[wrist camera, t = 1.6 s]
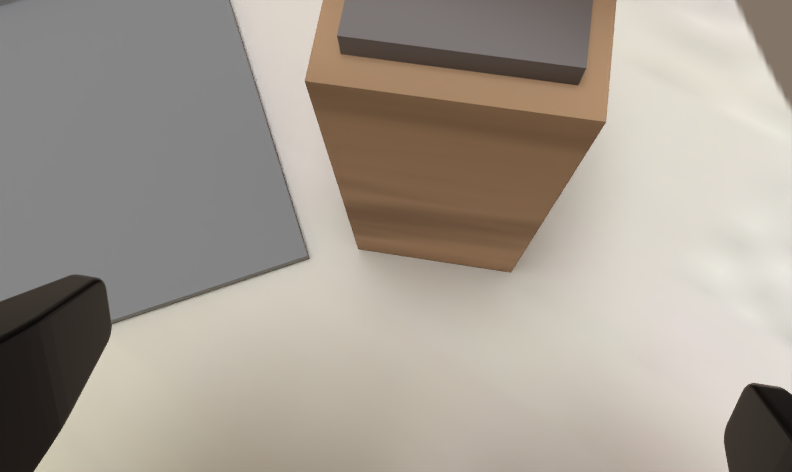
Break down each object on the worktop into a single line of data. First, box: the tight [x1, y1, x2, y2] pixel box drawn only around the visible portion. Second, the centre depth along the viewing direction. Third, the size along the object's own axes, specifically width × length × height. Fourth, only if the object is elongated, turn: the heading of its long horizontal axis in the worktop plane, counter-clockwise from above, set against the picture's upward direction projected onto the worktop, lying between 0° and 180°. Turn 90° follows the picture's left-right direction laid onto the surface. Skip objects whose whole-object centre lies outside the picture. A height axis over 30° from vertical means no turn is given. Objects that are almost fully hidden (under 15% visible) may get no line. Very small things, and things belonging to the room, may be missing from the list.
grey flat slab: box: [0, 0, 309, 323], centre depth 25 cm, size 16×14×1 cm
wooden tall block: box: [305, 0, 616, 272], centre depth 18 cm, size 6×6×13 cm
